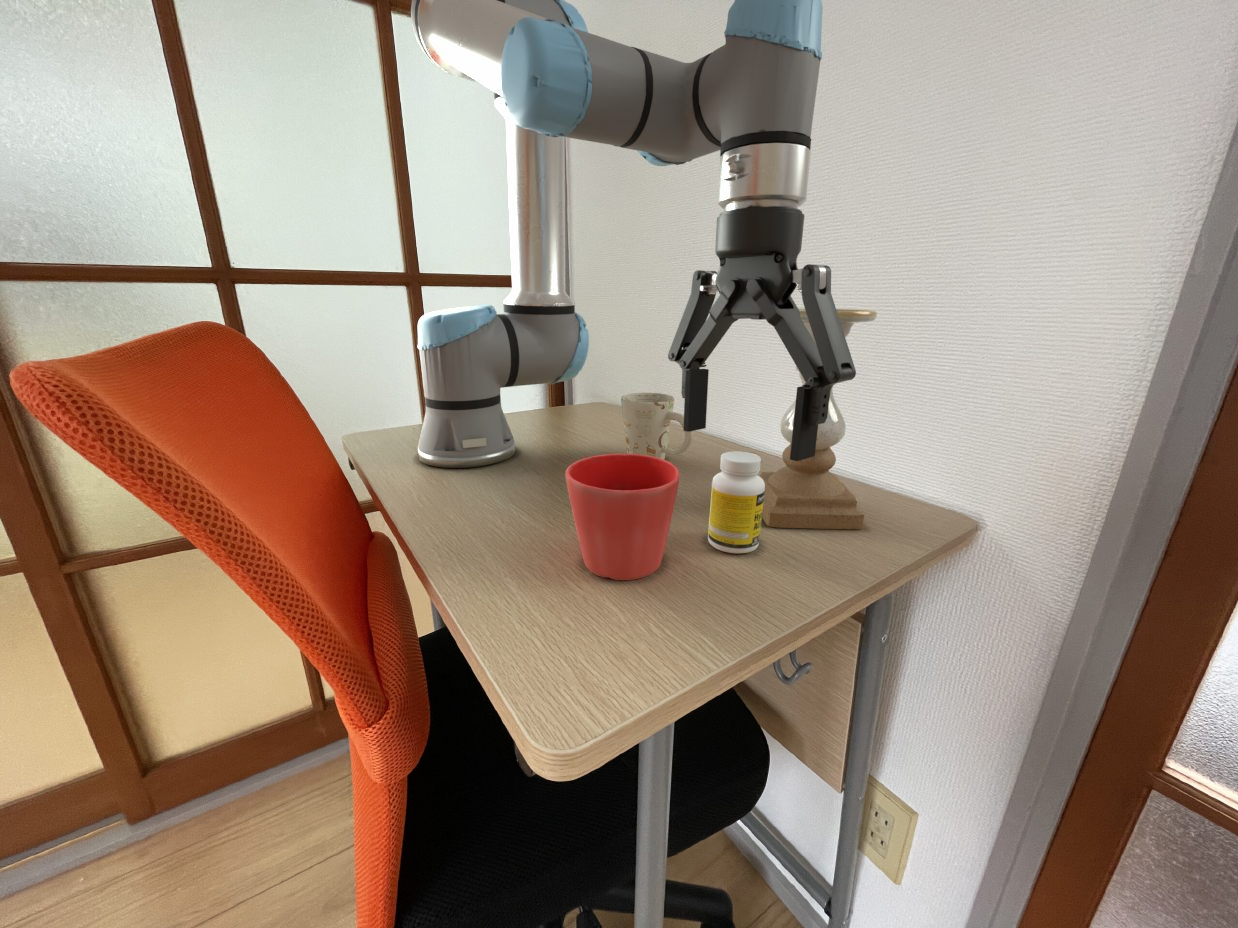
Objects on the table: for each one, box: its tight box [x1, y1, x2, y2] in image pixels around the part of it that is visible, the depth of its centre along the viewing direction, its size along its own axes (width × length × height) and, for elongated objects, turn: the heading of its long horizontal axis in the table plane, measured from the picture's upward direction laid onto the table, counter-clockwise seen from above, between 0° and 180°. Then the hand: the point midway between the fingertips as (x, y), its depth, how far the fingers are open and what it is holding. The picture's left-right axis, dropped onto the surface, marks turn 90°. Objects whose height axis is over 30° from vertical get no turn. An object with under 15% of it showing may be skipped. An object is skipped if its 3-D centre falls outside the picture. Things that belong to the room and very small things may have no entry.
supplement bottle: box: [707, 450, 765, 554], centre depth 55 cm, size 5×5×10 cm
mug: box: [620, 392, 694, 460], centre depth 83 cm, size 8×13×10 cm, turn 54°
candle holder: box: [758, 308, 878, 530], centre depth 62 cm, size 11×11×24 cm
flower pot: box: [565, 453, 681, 581], centre depth 51 cm, size 11×11×10 cm
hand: (743, 442), depth 53 cm, fingers open, 13 cm apart
